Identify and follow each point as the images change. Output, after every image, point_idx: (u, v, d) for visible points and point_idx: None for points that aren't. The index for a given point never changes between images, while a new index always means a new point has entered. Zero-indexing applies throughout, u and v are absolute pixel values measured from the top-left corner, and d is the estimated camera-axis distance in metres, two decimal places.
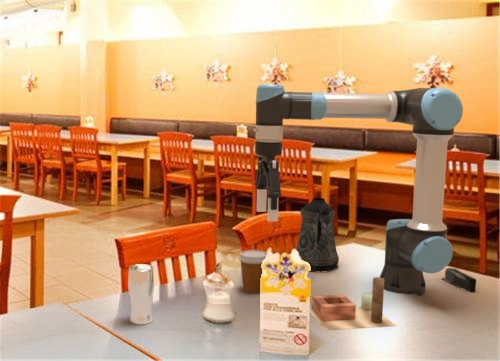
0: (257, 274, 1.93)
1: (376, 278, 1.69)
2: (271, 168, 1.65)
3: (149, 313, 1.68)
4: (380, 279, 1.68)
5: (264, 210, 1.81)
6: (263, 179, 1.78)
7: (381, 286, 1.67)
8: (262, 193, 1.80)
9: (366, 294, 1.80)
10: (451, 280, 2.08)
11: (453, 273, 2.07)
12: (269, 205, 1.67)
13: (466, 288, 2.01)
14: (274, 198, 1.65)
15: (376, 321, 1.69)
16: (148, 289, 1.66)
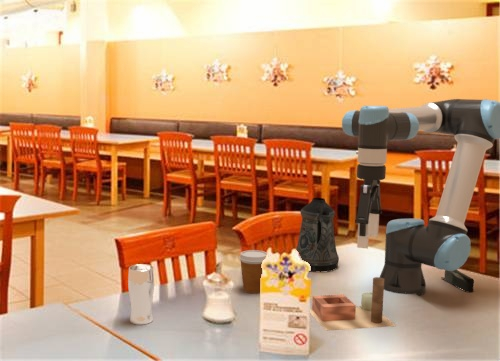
0: (257, 274, 1.93)
1: (376, 278, 1.69)
2: (361, 193, 1.60)
3: (149, 313, 1.68)
4: (381, 279, 1.68)
5: (375, 235, 1.73)
6: (372, 203, 1.71)
7: (381, 286, 1.67)
8: (374, 218, 1.73)
9: (366, 294, 1.80)
10: (450, 280, 2.08)
11: (451, 272, 2.07)
12: (358, 231, 1.61)
13: (464, 288, 2.01)
14: (361, 224, 1.59)
15: (376, 321, 1.69)
16: (148, 289, 1.66)
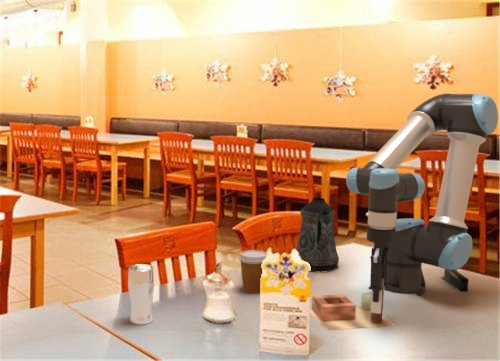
0: (257, 274, 1.93)
1: None
2: (372, 263, 1.62)
3: (149, 313, 1.68)
4: None
5: None
6: None
7: (381, 286, 1.67)
8: None
9: (366, 294, 1.80)
10: (447, 279, 2.09)
11: (449, 272, 2.08)
12: (372, 296, 1.68)
13: (458, 287, 2.02)
14: (375, 291, 1.66)
15: (376, 321, 1.68)
16: (148, 289, 1.66)
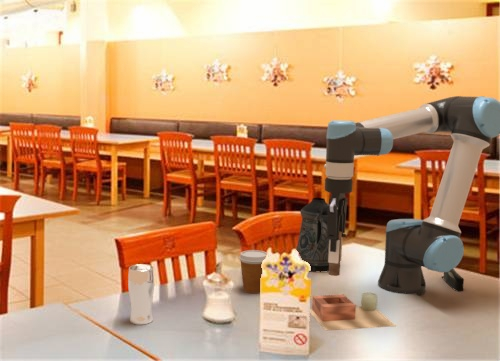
0: (257, 274, 1.93)
1: None
2: (329, 212, 1.65)
3: (149, 313, 1.68)
4: None
5: None
6: None
7: None
8: None
9: (366, 294, 1.80)
10: (445, 278, 2.10)
11: None
12: (329, 246, 1.70)
13: (454, 287, 2.02)
14: (332, 240, 1.69)
15: (333, 273, 1.71)
16: (148, 289, 1.66)
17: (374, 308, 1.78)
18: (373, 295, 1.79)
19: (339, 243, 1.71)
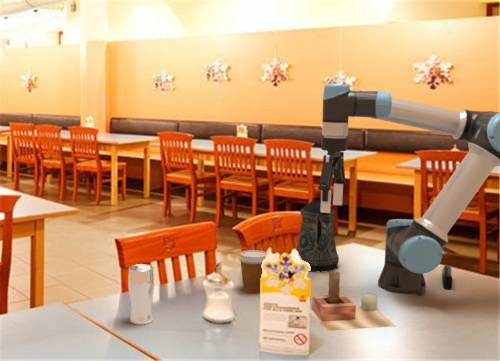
0: (257, 274, 1.93)
1: (332, 272, 1.74)
2: (324, 162, 1.76)
3: (149, 313, 1.68)
4: (336, 272, 1.73)
5: (340, 204, 1.89)
6: (336, 173, 1.87)
7: (337, 279, 1.72)
8: (338, 187, 1.89)
9: (366, 294, 1.80)
10: None
11: None
12: (321, 197, 1.77)
13: (443, 284, 2.04)
14: (324, 190, 1.75)
15: None
16: (148, 289, 1.66)
17: (374, 308, 1.78)
18: (373, 295, 1.79)
19: (338, 284, 1.72)
